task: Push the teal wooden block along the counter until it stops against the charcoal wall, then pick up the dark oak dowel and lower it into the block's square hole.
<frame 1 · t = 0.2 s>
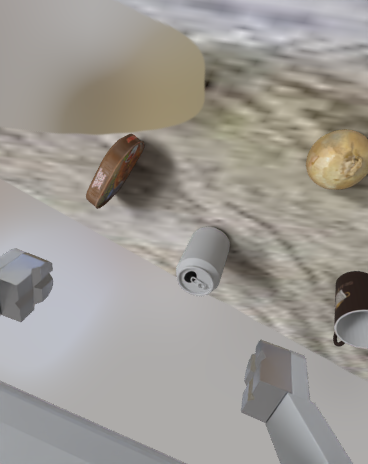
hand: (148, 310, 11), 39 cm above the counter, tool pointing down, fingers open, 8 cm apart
onion: (335, 153, 42), on the counter
tin: (125, 163, 54), on the counter
coffee mug: (347, 287, 54), on the counter
can: (211, 240, 57), on the counter
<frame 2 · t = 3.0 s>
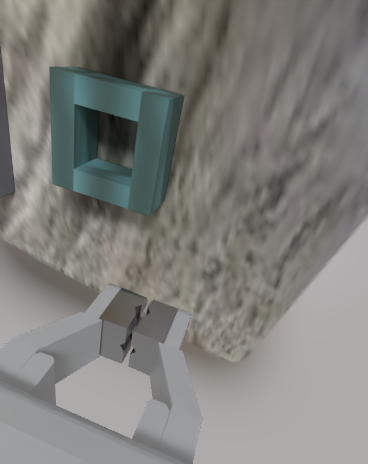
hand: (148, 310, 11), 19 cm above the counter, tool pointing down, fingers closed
block: (114, 142, 27), point 2 cm above the counter, slide at 8.0 cm
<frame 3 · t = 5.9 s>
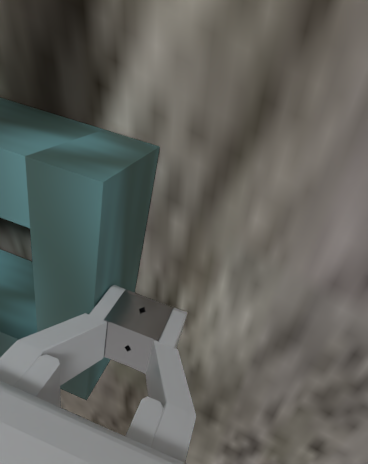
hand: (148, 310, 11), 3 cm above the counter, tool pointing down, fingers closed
block: (9, 241, 12), point 2 cm above the counter, slide at 6.4 cm, touching gripper
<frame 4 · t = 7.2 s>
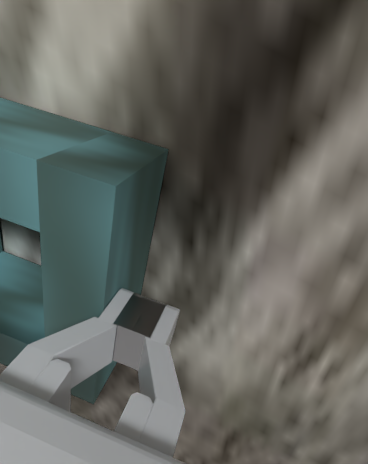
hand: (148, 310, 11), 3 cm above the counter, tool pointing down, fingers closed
block: (15, 244, 12), point 2 cm above the counter, slide at -0.1 cm, touching gripper
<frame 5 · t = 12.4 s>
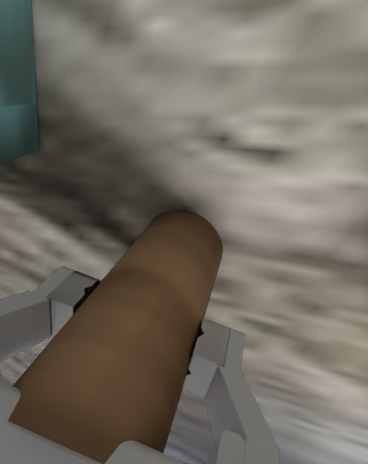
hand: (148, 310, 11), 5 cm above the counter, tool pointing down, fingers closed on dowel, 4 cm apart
dowel: (182, 247, 15), on the counter, touching gripper
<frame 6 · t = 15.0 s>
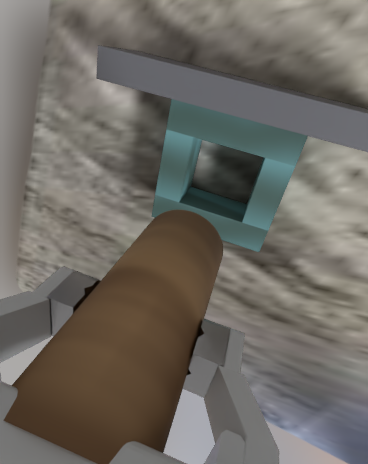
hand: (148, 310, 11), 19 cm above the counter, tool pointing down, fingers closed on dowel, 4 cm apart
dowel: (183, 246, 15), point 14 cm above the counter, touching gripper
wall: (248, 93, 24), on the counter
block: (222, 174, 25), point 2 cm above the counter, slide at 0.0 cm
when the fingers open (6 cm above the counter, at t = 17.7 s): dowel drops 1 cm, resting in block.
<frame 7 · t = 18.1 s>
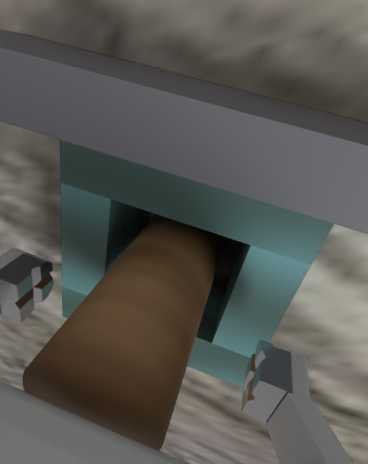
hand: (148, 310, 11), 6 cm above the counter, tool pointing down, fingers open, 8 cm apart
dowel: (189, 232, 16), resting in block
wall: (221, 111, 13), on the counter
block: (179, 252, 14), point 2 cm above the counter, slide at 0.0 cm
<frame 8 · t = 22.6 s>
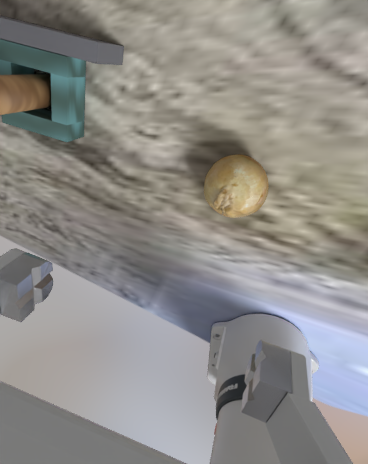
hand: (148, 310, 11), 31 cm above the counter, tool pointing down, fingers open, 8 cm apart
dowel: (52, 90, 41), resting in block
wall: (51, 37, 38), on the counter
block: (42, 91, 39), point 2 cm above the counter, slide at 0.0 cm
onion: (238, 179, 40), on the counter
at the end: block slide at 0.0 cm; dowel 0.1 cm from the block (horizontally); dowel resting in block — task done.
